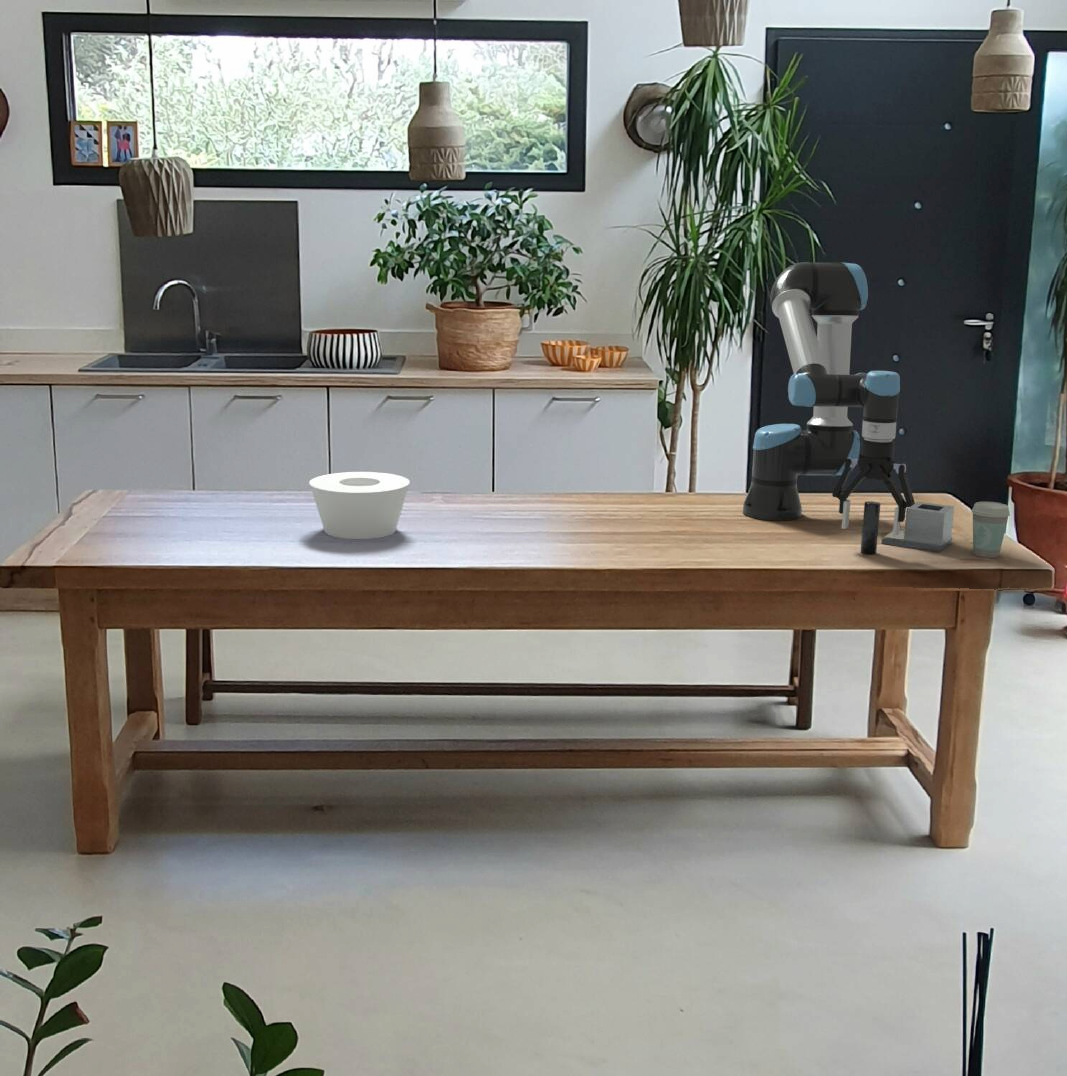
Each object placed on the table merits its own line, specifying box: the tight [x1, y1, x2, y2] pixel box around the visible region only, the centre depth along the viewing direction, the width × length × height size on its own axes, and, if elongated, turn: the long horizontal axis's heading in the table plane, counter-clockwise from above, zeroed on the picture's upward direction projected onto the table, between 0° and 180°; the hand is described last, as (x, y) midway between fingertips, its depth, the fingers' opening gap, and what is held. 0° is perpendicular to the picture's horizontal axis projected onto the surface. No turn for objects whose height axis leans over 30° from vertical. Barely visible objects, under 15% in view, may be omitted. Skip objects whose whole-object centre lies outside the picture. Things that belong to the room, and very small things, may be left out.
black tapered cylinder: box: [860, 500, 881, 556], centre depth 314 cm, size 4×4×12 cm
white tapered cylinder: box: [308, 471, 411, 540], centre depth 325 cm, size 24×24×12 cm
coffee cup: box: [970, 501, 1011, 559], centre depth 315 cm, size 8×9×12 cm
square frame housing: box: [881, 501, 955, 553], centre depth 325 cm, size 14×11×9 cm
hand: (870, 531), depth 314 cm, fingers open, 11 cm apart
